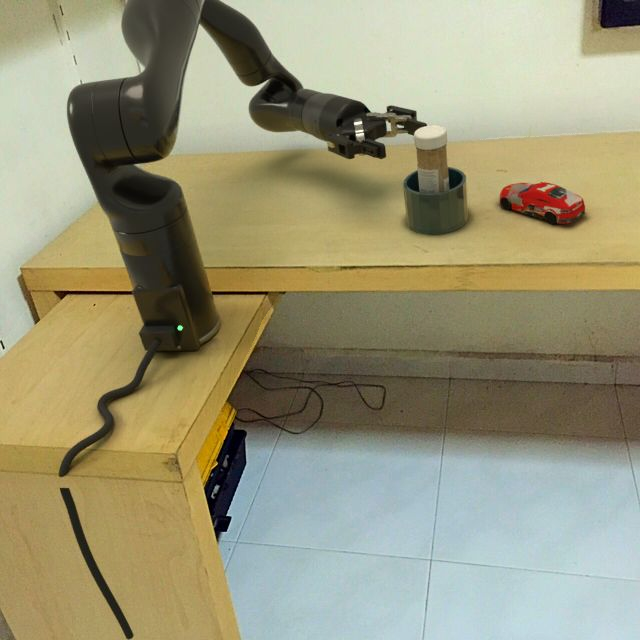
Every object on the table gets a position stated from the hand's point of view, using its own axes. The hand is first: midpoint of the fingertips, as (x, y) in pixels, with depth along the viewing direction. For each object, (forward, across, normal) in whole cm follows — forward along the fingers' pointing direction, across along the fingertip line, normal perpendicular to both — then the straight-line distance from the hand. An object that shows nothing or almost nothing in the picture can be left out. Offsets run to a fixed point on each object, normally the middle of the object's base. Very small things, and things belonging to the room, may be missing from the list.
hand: (405, 141), depth 110 cm
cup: (+6, 0, +11) cm, 12 cm away
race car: (+16, +11, +11) cm, 22 cm away
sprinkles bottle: (+5, 0, +11) cm, 12 cm away
